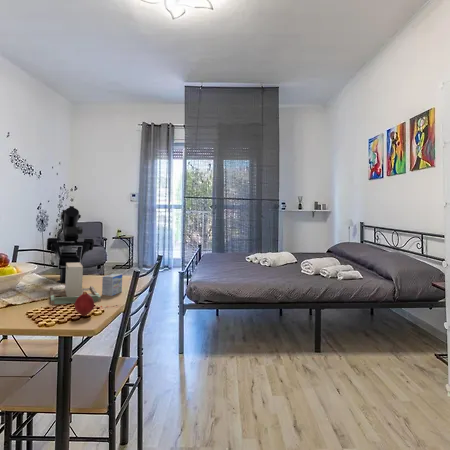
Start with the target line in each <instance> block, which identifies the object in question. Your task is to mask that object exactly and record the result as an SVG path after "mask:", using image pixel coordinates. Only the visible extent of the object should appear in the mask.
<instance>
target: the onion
mask: <svg viewBox="0 0 450 450" xmlns="http://www.w3.org/2000/svg"><path fill="white" fill-rule="evenodd" d="M88 294H89V293H87V291H84V292H83V294H82V295H80V296H79V297H78V298H77V299H76V301H75V303H74V309H75V311H76V312H77V313H78V314H80V316H82V317H86V316H87V315H89V314H90V313H91V312H92V311H93V310H94V308H95V302H94V300H93V298H92V297H91V296H90V295H88ZM85 315H86V316H85Z"/></svg>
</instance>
